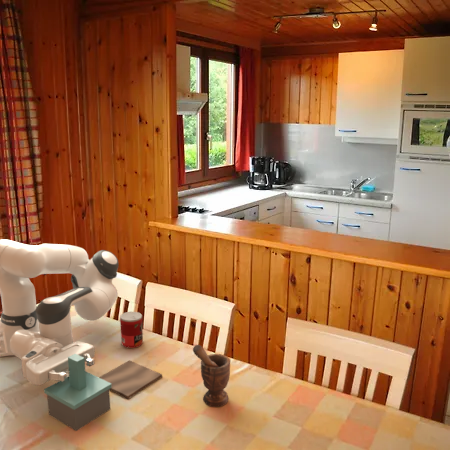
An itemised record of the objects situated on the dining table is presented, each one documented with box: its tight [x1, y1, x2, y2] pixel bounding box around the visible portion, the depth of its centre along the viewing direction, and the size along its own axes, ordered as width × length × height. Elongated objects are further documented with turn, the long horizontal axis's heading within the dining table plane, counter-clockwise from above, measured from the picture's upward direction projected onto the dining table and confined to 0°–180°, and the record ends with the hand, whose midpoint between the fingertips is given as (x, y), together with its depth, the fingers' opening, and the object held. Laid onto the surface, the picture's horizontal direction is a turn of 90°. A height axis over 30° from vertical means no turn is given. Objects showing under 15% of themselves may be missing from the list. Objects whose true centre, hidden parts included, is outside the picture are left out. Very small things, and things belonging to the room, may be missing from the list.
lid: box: [43, 354, 112, 410], centre depth 136 cm, size 13×13×11 cm
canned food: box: [119, 311, 144, 349], centre depth 178 cm, size 8×8×11 cm
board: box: [99, 360, 163, 400], centre depth 155 cm, size 15×15×1 cm
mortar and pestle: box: [192, 344, 231, 408], centre depth 142 cm, size 12×9×20 cm
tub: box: [46, 389, 111, 432], centre depth 138 cm, size 12×12×7 cm
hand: (79, 370), depth 136 cm, fingers open, 8 cm apart
